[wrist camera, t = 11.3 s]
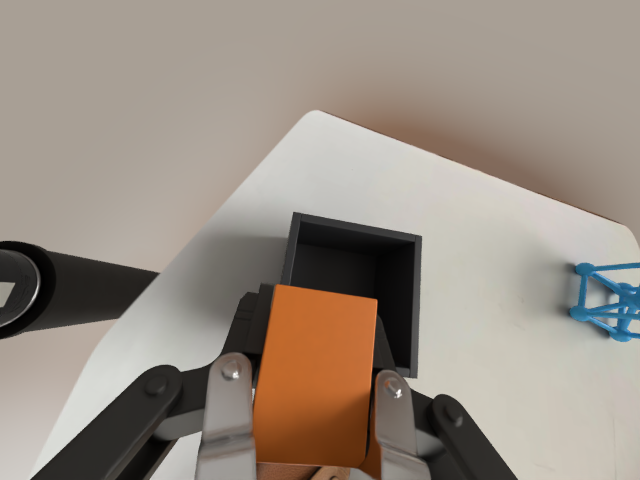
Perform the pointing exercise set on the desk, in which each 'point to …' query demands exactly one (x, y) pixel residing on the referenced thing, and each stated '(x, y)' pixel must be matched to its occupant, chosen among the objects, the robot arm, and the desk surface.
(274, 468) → the sunglasses case
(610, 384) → the desk surface
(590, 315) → the molecular structure
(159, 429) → the robot arm
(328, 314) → the block
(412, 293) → the dark grey storage bin
